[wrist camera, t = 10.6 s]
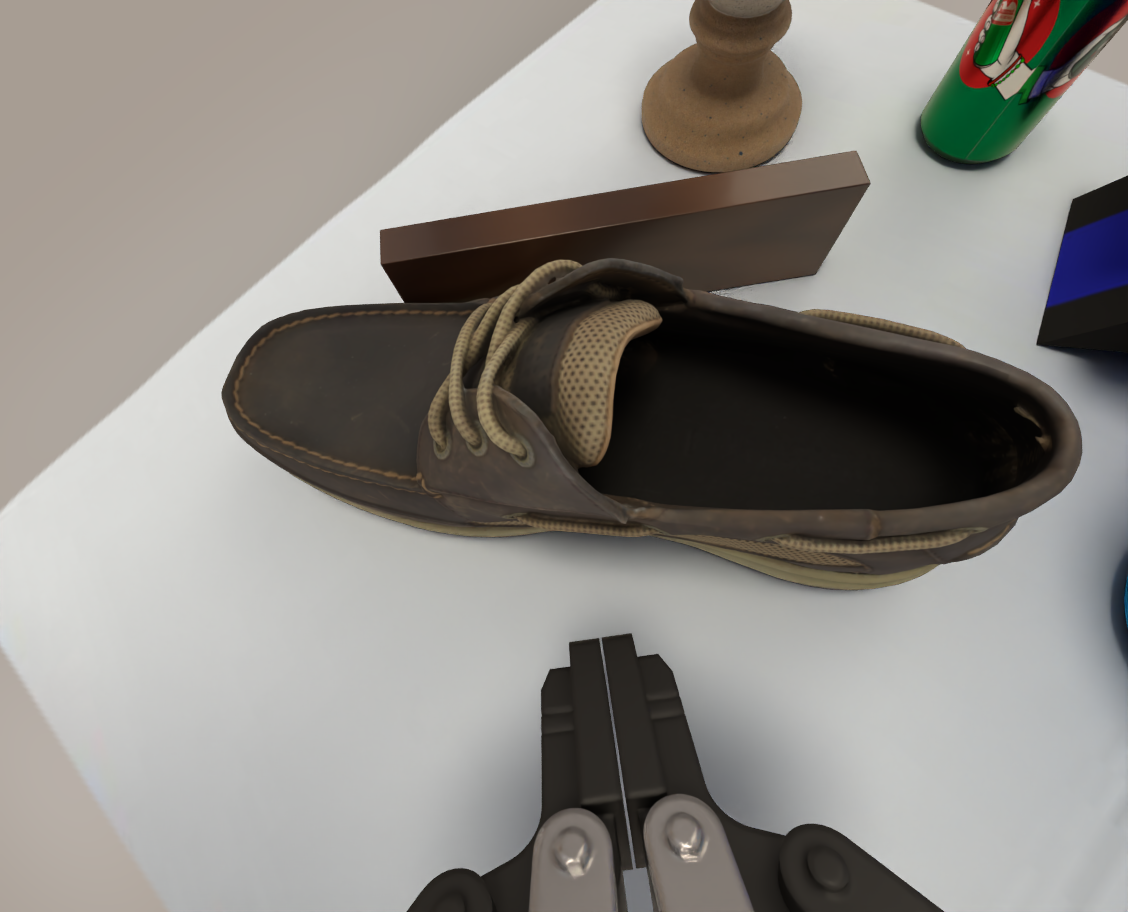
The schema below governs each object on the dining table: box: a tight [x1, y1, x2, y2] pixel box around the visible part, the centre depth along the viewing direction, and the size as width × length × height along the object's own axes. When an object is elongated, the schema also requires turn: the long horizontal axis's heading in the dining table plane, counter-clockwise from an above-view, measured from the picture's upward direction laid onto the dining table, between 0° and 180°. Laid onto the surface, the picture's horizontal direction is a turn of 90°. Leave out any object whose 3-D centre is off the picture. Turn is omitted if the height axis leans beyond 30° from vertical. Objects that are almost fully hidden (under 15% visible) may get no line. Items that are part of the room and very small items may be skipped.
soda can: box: [921, 0, 1128, 164], centre depth 22 cm, size 5×5×12 cm
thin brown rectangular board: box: [380, 151, 870, 303], centre depth 23 cm, size 20×2×6 cm, turn 98°
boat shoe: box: [222, 258, 1082, 590], centre depth 18 cm, size 11×29×11 cm, turn 82°
